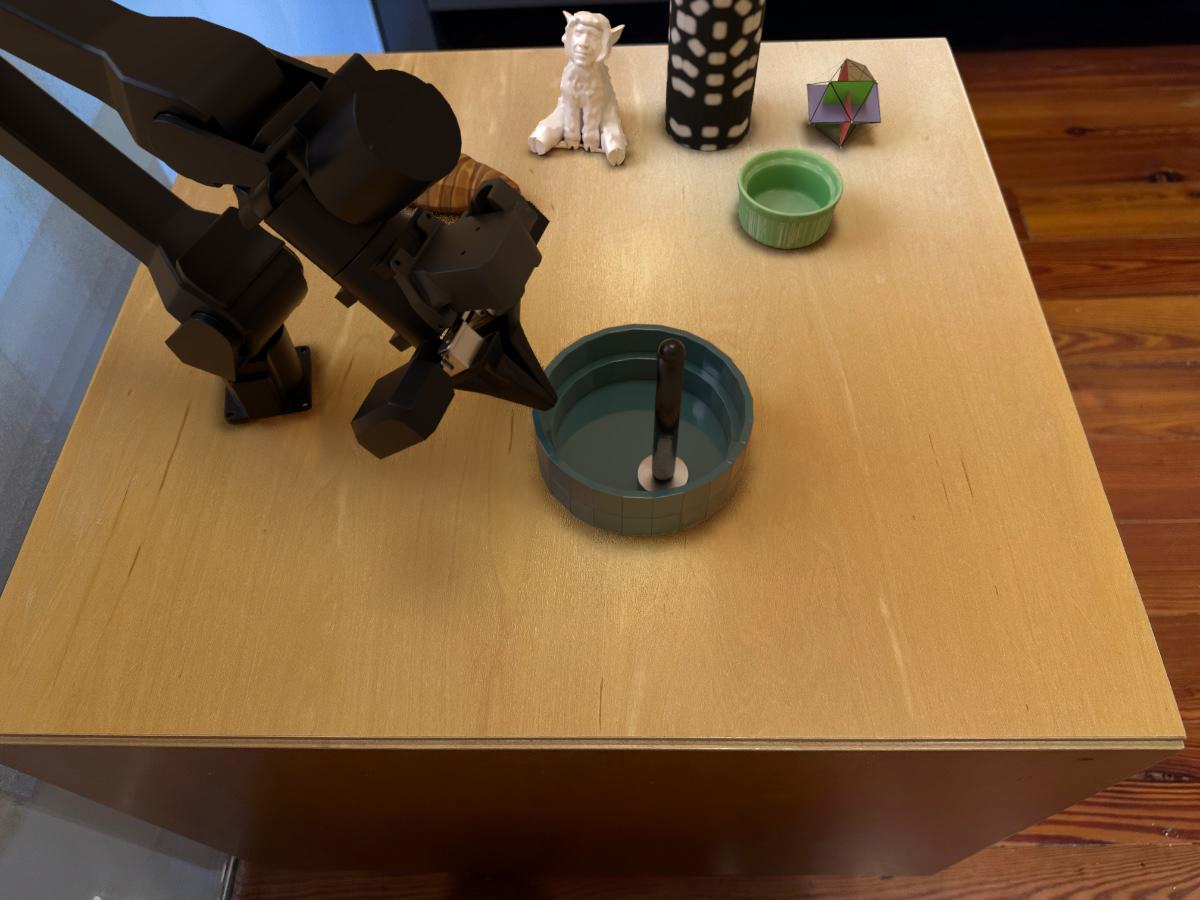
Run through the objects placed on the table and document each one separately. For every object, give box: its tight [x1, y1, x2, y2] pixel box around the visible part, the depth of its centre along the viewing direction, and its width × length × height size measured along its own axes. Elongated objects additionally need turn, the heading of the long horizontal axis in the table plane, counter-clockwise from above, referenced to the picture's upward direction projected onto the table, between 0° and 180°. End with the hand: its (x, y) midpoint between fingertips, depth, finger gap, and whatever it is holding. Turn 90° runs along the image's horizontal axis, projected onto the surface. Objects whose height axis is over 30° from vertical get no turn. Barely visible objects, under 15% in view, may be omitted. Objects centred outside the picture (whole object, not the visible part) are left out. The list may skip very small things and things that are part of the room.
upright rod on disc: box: [637, 338, 689, 491], centre depth 58 cm, size 4×4×15 cm
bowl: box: [531, 323, 755, 538], centre depth 65 cm, size 15×15×6 cm
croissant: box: [407, 152, 522, 214], centre depth 82 cm, size 14×7×5 cm, turn 81°
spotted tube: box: [664, 0, 767, 152], centre depth 82 cm, size 8×8×20 cm
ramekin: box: [737, 147, 844, 250], centre depth 80 cm, size 9×9×4 cm
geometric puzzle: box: [806, 57, 883, 149], centre depth 86 cm, size 7×7×8 cm
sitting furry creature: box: [527, 10, 628, 167], centre depth 85 cm, size 10×9×12 cm
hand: (552, 405), depth 60 cm, fingers closed
